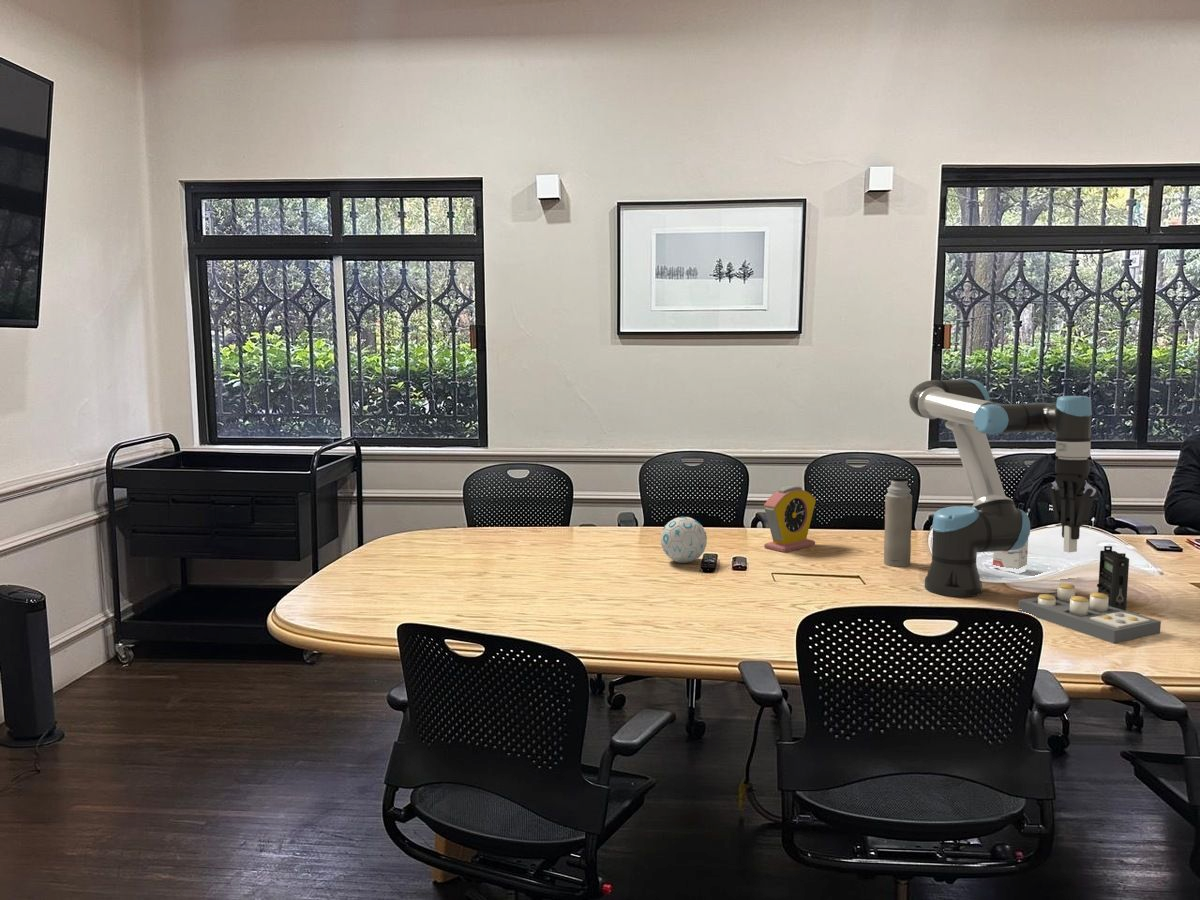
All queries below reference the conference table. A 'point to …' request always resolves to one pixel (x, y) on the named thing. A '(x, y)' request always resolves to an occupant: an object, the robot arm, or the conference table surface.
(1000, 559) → the ink cartridge box
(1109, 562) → the geiger counter
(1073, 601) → the white jar yellow lid
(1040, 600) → the button
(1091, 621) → the button board
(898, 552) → the thermos bottle
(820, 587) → the conference table surface
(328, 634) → the conference table surface
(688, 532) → the puzzle ball
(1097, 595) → the yellow topped white button
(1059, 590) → the button
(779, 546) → the yellow mantel clock
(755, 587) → the conference table surface
